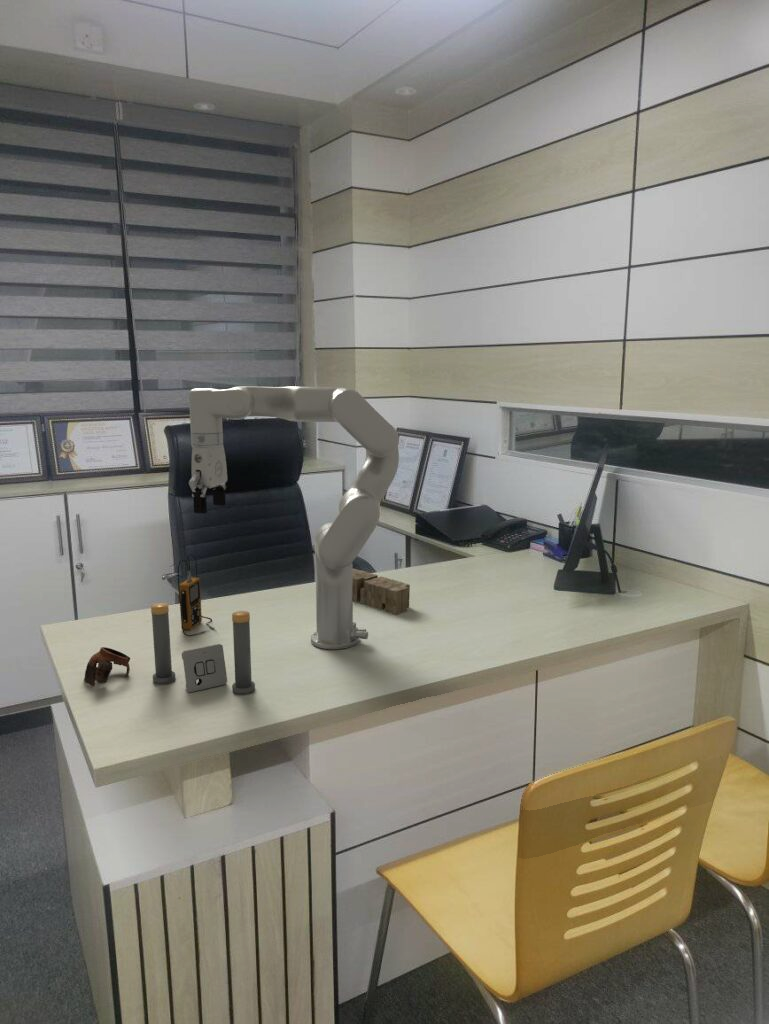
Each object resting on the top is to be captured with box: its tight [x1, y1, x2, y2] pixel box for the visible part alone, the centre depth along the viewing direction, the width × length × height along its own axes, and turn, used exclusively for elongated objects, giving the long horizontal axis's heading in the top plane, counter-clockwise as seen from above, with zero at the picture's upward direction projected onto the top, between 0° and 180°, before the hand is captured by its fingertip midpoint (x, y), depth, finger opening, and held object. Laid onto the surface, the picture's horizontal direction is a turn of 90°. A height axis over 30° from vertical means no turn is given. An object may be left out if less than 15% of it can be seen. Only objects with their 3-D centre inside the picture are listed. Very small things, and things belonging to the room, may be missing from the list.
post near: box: [231, 610, 256, 696], centre depth 164 cm, size 5×5×18 cm
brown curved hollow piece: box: [83, 646, 131, 687], centre depth 171 cm, size 12×10×8 cm
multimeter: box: [177, 554, 218, 637], centre depth 202 cm, size 15×10×20 cm
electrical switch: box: [181, 643, 228, 693], centre depth 168 cm, size 9×5×9 cm, turn 121°
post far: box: [150, 602, 176, 686], centre depth 169 cm, size 5×5×18 cm
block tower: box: [353, 568, 411, 616], centre depth 226 cm, size 8×8×29 cm
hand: (210, 508), depth 183 cm, fingers open, 9 cm apart
